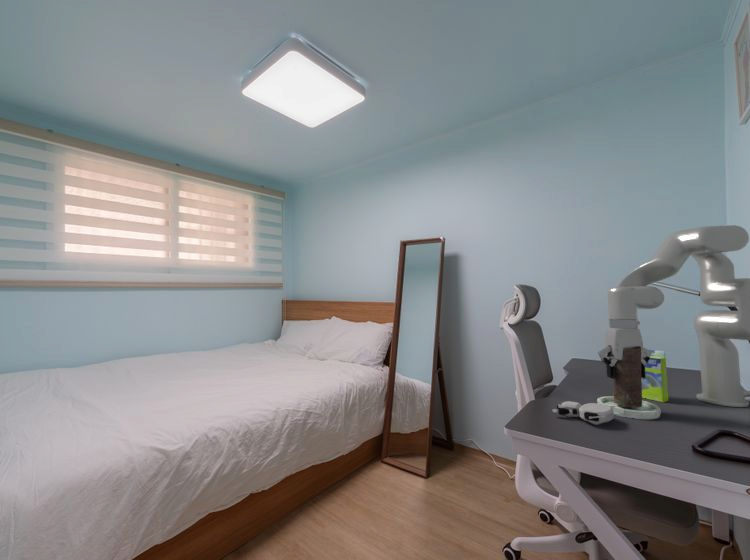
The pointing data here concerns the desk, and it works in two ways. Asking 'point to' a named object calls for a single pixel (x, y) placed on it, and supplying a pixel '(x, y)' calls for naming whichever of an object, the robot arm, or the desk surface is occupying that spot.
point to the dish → (632, 409)
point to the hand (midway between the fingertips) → (626, 377)
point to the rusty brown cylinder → (628, 379)
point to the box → (655, 378)
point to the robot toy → (586, 411)
